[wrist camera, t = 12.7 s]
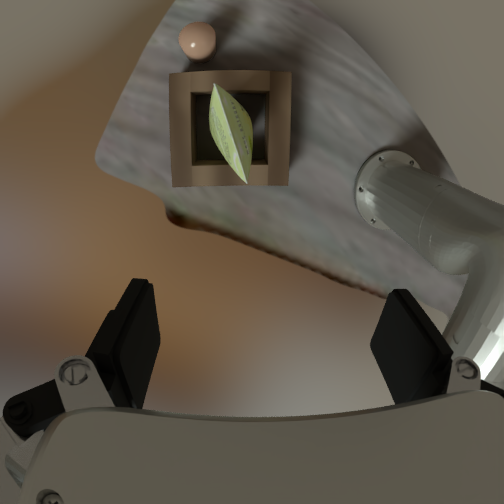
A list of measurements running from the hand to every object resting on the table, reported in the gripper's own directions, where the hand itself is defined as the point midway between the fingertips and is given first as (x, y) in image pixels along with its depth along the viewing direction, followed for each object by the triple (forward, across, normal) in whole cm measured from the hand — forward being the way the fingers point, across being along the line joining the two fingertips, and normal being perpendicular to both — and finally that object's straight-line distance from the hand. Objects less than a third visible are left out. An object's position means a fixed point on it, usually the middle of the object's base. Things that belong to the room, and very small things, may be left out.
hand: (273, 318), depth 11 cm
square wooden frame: (+31, +3, -6) cm, 31 cm away
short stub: (+31, +8, -17) cm, 36 cm away
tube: (+31, +3, -6) cm, 32 cm away
